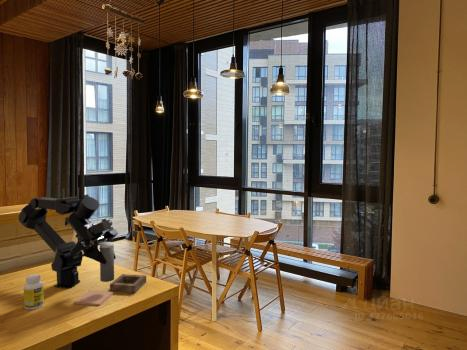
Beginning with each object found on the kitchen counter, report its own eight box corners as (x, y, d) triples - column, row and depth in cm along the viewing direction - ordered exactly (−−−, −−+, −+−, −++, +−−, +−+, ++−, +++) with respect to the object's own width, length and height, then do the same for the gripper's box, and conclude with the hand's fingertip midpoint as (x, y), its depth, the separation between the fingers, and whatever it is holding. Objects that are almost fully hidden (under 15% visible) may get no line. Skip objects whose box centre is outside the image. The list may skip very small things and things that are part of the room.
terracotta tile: (74, 303, 113) (74, 301, 113) (89, 291, 121) (89, 290, 121) (99, 305, 111) (99, 303, 111) (113, 293, 120) (113, 291, 120)
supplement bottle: (35, 310, 108) (33, 280, 107) (20, 309, 109) (18, 278, 108) (48, 303, 113) (46, 273, 112) (33, 301, 114) (32, 272, 113)
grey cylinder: (98, 281, 118) (97, 245, 117) (104, 276, 122) (103, 241, 121) (110, 282, 117) (110, 246, 116) (116, 277, 122) (115, 242, 121)
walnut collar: (110, 291, 122) (109, 284, 122) (122, 280, 132) (122, 274, 131) (135, 292, 121) (135, 286, 121) (146, 282, 130) (146, 275, 130)
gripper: (76, 217, 110) (106, 255, 108) (113, 207, 128) (139, 239, 125) (57, 239, 113) (86, 276, 111) (95, 226, 131) (121, 258, 129)
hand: (110, 261), depth 119 cm, fingers closed on grey cylinder, 4 cm apart
